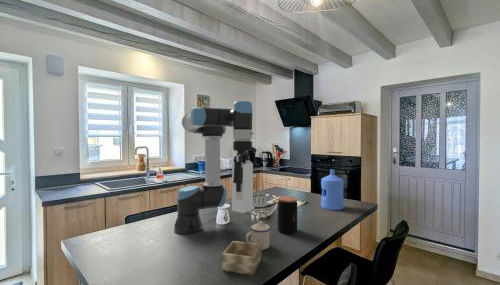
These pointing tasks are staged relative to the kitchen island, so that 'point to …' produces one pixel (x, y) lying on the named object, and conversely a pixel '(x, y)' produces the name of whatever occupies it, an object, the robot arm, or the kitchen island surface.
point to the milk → (244, 189)
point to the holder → (241, 257)
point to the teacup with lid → (260, 235)
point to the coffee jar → (287, 214)
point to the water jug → (332, 192)
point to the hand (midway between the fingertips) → (242, 197)
